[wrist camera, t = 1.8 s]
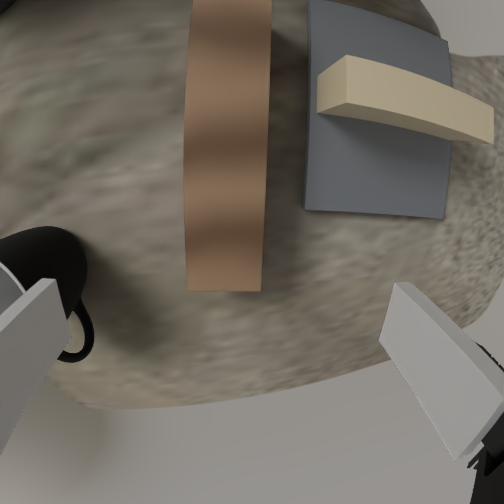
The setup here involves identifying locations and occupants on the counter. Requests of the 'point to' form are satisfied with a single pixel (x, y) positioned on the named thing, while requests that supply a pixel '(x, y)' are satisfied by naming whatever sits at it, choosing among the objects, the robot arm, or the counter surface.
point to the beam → (226, 143)
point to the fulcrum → (381, 115)
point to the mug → (46, 273)
